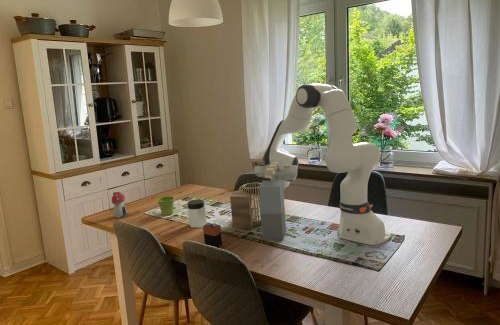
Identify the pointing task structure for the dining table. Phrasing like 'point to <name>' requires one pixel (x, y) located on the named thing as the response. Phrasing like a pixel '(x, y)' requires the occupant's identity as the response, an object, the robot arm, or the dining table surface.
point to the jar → (196, 213)
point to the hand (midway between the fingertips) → (273, 166)
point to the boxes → (262, 210)
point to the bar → (271, 170)
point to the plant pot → (166, 204)
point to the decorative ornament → (119, 205)
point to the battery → (212, 234)
